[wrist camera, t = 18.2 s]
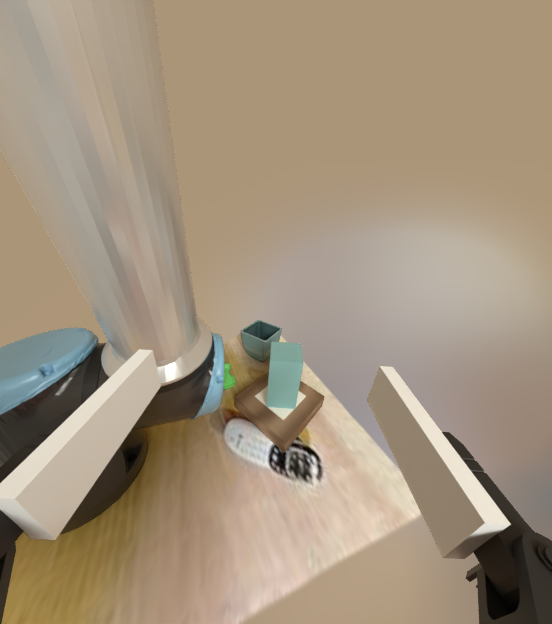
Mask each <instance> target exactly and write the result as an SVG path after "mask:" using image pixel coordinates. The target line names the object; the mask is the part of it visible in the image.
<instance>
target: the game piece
mask: <svg viewBox="0 0 552 624" xmlns="http://www.w3.org/2000/svg"><path fill="white" fill-rule="evenodd" d="M230 369H231V364H228V363H224V376H223V378H224V388H223V389H228V388H232V386H233V385H234V384H235V378H234V376H232V375H231V374H230V372H229V370H230Z"/></svg>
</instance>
